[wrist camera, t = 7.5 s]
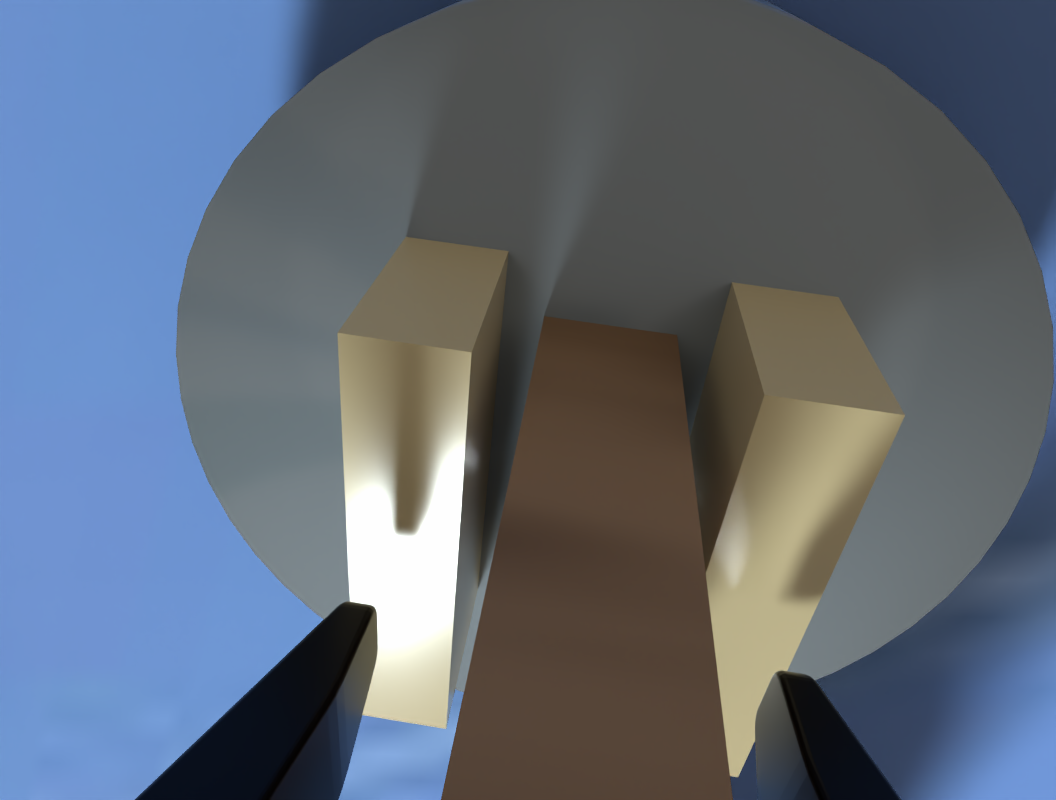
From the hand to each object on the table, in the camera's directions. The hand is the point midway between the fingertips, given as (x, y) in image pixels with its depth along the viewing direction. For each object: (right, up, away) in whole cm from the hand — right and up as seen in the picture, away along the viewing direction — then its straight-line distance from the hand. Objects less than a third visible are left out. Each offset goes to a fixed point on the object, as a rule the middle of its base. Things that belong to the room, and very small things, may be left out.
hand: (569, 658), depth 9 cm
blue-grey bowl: (+1, +4, +7) cm, 8 cm away
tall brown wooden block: (0, +2, +3) cm, 4 cm away
